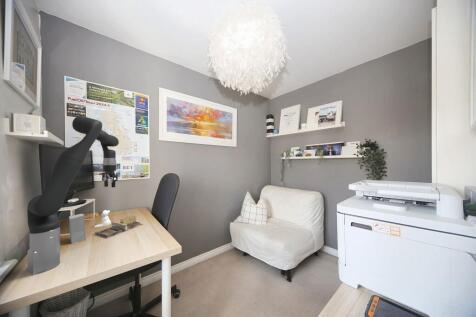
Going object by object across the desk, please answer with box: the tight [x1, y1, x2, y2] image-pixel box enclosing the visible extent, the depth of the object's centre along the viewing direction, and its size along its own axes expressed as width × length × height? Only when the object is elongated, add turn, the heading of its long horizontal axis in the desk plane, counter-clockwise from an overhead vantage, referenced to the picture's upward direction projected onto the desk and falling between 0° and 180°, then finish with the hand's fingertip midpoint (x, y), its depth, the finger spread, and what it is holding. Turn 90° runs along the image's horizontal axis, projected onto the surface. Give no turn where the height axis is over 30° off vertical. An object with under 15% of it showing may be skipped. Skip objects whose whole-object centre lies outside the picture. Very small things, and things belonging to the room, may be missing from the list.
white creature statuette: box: [94, 209, 112, 228], centre depth 126 cm, size 10×9×12 cm
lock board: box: [91, 221, 144, 240], centre depth 117 cm, size 25×16×5 cm, turn 157°
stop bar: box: [119, 215, 137, 227], centre depth 123 cm, size 9×4×6 cm, turn 157°
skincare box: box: [68, 213, 87, 245], centre depth 102 cm, size 8×7×16 cm
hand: (109, 187), depth 120 cm, fingers open, 8 cm apart
